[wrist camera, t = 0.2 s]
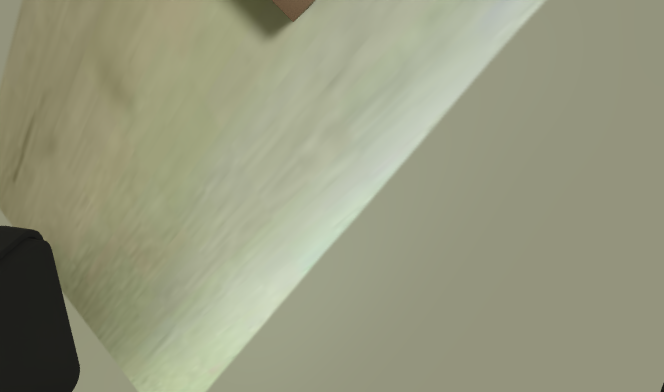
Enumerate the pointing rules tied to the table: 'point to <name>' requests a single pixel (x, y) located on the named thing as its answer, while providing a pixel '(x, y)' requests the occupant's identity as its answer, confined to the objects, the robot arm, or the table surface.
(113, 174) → the table surface
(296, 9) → the block
